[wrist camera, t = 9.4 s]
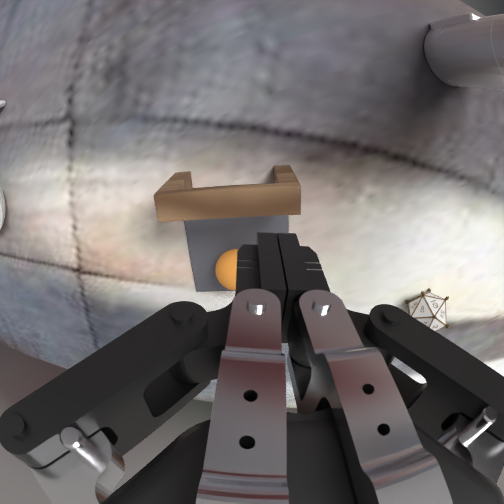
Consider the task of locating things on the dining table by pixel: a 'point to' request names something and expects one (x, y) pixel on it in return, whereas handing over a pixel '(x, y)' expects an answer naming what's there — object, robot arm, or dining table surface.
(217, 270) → the ball
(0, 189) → the spoon rest
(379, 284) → the dining table surface
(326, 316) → the robot arm
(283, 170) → the bridge
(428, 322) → the game die
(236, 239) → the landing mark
